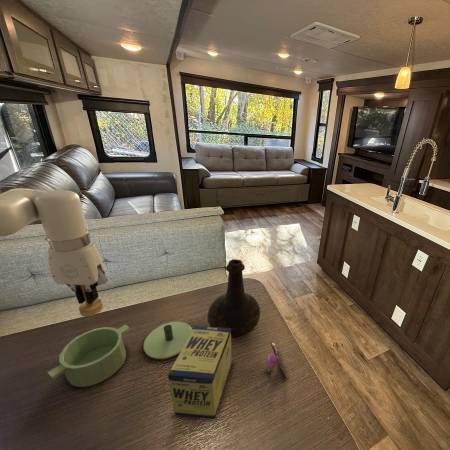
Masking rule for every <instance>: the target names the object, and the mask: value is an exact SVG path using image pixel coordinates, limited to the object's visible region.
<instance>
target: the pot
mask: <svg viewBox="0 0 450 450" xmlns="http://www.w3.org/2000/svg"><path fill="white" fill-rule="evenodd" d="M129 331H131V328H130V326H128V325H127V324H123V325H122V326H120V327H119V328H116V327H109V326H104V327H97V328H94V329H91V330H88V331H85V332H83V333H82V334H80V335H78V336H76V337H74V338H73V339H72V340H71V341H69V342H68V343H67V344H66V345H65V346H64V347H63V349H62V351H61V352H60V353H59V365H57V366H55V367H54V368H52V369H51V370H49V371H47V372H46V374H47V375H48V376H49V378H50V379H51V380H55V379H57V378H58V377H60V376H61V375H63V374H64V376H65V378H66V381H67V382H68V383H69V384H70V385H71V386H73V387H77V388H86V387H91V386H95V385H97V384H99V383H101V382H103V381H105V380H108V379H109V378H110V377H112V376H113V375H114V374H115V373H116V372H118V371H119V370H120V369H121V367H122V366H123V365H124V363H125V361H126V358H127V351H126V347H125V343H124V340H123V335H124V334H126V333H128V332H129Z"/></svg>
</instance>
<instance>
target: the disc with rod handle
mask: <svg viewBox="0 0 450 450" xmlns="http://www.w3.org/2000/svg"><path fill="white" fill-rule="evenodd" d="M80 286H81V289H82V293H83V296H84V299H85V301H84V302H83V303H82V304H79V306H78V311H79V313H80V314H79V315H81V316H82V317H92V316H95V315H97V314H98V313H100V312H101V311H102V310H103V309H104V304H103V302H102V299H101V298H97V299H96V300H95V301H94V302H93V303H92V304H88V303H87V299H86V296H85V292H86V288H85V285H80Z"/></svg>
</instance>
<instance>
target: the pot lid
mask: <svg viewBox="0 0 450 450" xmlns="http://www.w3.org/2000/svg"><path fill="white" fill-rule="evenodd" d="M192 330H193V328H192V326H191V325H190V324H189V323H186V322H184V321H170V322H167V323H163V324H162V325H159V326H157V327H155V328H154V329H153V330H151V332H150V333H149V334H148V335H147V336H146V338H145V340H144V343H143V351H144V353H145V354H146V356H148V357H149V358H151V359H154V360H166V359H169V358H173V357H175V356H177V355H179V354H180V352H181V350H182V348H183V347H184V345H185V343H186V341H187V339H188V337H189V336H190V334H191V332H192Z"/></svg>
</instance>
